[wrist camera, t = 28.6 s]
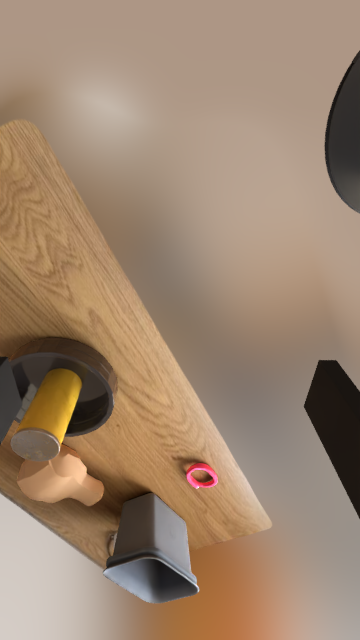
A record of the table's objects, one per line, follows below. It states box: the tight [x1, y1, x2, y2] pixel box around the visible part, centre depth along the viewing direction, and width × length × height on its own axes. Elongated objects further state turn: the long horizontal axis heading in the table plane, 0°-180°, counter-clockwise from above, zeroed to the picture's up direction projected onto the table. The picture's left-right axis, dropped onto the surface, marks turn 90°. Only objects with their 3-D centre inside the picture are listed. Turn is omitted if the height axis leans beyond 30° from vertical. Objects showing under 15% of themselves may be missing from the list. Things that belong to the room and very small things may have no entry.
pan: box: [9, 338, 118, 437], centre depth 52 cm, size 19×19×4 cm
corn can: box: [11, 368, 82, 461], centre depth 48 cm, size 6×6×13 cm
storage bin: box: [103, 493, 199, 603], centre depth 70 cm, size 21×16×14 cm
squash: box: [16, 444, 104, 506], centre depth 63 cm, size 11×20×9 cm, turn 33°
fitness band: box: [186, 463, 217, 488], centre depth 68 cm, size 8×6×2 cm
